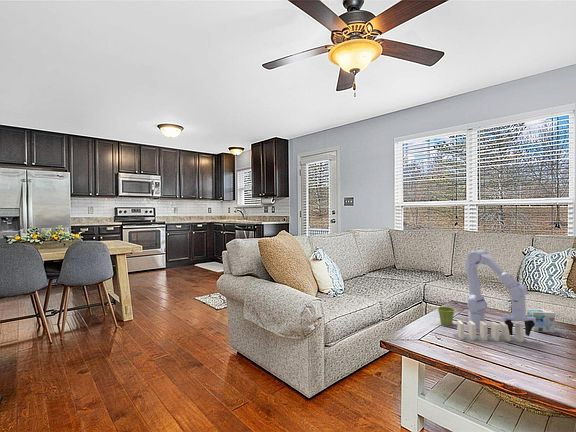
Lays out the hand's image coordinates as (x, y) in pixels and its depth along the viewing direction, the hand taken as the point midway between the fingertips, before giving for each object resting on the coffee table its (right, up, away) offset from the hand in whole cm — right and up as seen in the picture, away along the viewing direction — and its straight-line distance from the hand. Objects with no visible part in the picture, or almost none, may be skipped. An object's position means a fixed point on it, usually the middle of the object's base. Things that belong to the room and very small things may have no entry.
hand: (518, 335), depth 162 cm
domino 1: (-27, -3, +5) cm, 28 cm away
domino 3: (-16, -3, +3) cm, 17 cm away
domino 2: (-22, -3, +4) cm, 22 cm away
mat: (-13, -3, +2) cm, 14 cm away
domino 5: (-5, -2, +1) cm, 6 cm away
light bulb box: (+21, -2, +12) cm, 25 cm away
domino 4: (-11, -3, +2) cm, 11 cm away
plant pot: (-24, -3, +26) cm, 36 cm away
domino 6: (0, -2, 0) cm, 2 cm away
